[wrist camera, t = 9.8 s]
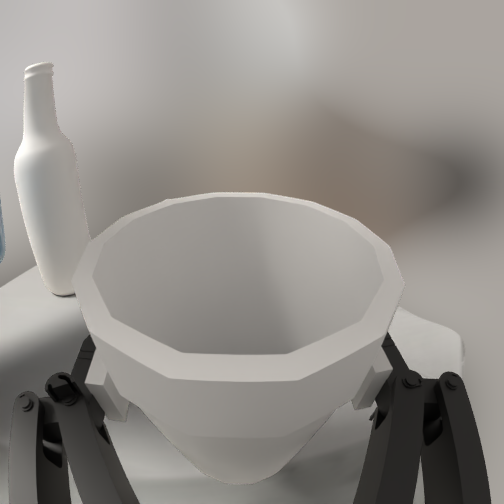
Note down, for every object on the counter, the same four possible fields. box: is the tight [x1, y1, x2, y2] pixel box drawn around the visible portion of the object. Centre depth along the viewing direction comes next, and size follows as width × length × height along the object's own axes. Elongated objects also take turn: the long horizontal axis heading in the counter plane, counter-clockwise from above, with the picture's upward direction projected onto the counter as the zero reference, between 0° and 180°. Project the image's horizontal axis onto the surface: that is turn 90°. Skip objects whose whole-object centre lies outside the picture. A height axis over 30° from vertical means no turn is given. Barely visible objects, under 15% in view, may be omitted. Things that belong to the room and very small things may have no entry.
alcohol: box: [14, 62, 91, 296], centre depth 30 cm, size 9×9×30 cm
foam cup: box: [71, 192, 405, 484], centre depth 12 cm, size 10×9×13 cm
